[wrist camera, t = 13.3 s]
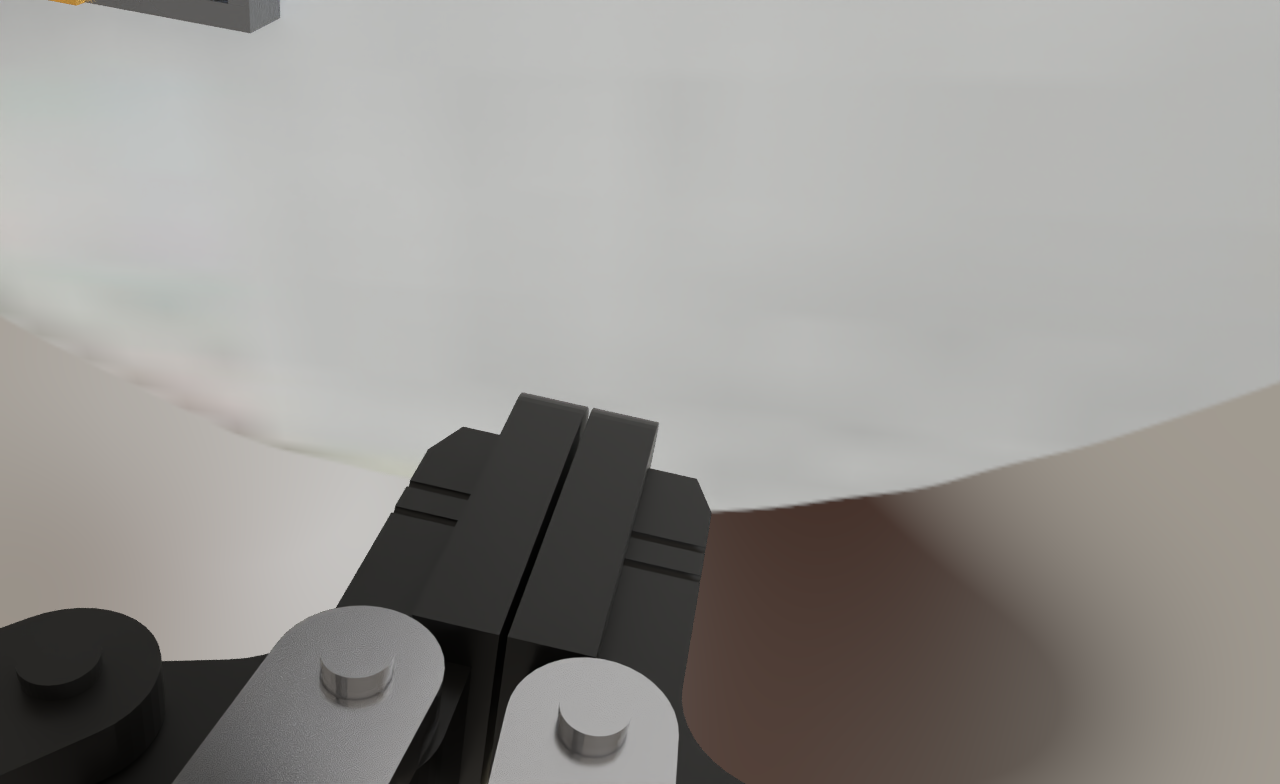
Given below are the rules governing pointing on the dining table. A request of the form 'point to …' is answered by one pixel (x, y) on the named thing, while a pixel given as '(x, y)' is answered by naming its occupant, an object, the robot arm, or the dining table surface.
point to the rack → (202, 11)
